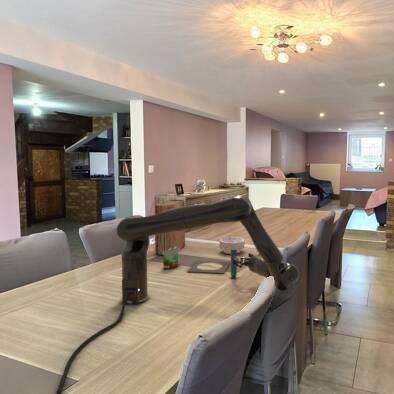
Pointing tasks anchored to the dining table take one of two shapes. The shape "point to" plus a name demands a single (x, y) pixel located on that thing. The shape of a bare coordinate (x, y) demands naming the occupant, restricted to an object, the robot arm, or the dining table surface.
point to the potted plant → (170, 257)
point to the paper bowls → (231, 244)
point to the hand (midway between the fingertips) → (241, 256)
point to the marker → (233, 267)
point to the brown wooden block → (170, 238)
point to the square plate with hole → (209, 267)
